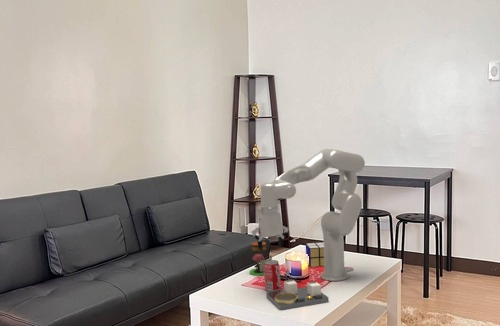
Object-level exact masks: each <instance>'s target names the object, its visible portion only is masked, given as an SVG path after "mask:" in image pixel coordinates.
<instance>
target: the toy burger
mask: <svg viewBox="0 0 500 326" xmlns="http://www.w3.org/2000/svg"><path fill="white" fill-rule="evenodd" d="M251 251H253V252H255V254H254V255H253V256H252V260H253V262H255V263H256V264H255V265H254V268H253V269H250V270H249V274H250V275H252V276H257V277H259V276H261V277H262V276H264V264H265V261H268V260H273V257H272V255H269V258H267V259H265V257H264V255H263V254H262V252H266V251H267V243H266V242H265V241H262V250H260V249H259V248H258V241H253V242H252V243H251ZM260 252H261V253H260Z"/></svg>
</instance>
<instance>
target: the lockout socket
mask: <svg viewBox="0 0 500 326" xmlns="http://www.w3.org/2000/svg"><path fill="white" fill-rule="evenodd" d="M283 296H291V297H295V299H293V300H289V301H283V300H279V299H277V298H279V297H283ZM297 299H298V296H297V295H296V294H293V293H281V294H278V295H276V296H275V301H276V302H277V303H281V304H291V303H295V302H297Z"/></svg>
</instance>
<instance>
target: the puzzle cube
mask: <svg viewBox="0 0 500 326" xmlns="http://www.w3.org/2000/svg"><path fill="white" fill-rule="evenodd" d="M306 254H308V256H309V265H310V266H309V265H308V266H309V267H310V268H318V267H317V266H319V267H320V266H321V267H324V241H323V242H311V243H306V244H305V255H306Z"/></svg>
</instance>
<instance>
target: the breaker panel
mask: <svg viewBox="0 0 500 326" xmlns="http://www.w3.org/2000/svg"><path fill="white" fill-rule="evenodd" d="M297 291H298V293H295V294H296V295H297V296H298V299H297V302H295V303H291V304H281V303H277V302H276V301H275V296H276V295H278V294H281V293H287V292H285V289H284V290H279V291H276V292H266V294H265V296H266V299H267V300H268V301H269V302H271V304H273V305H274V306H275V307H276V308H277V309H278V310H279V311H284V310H290V309H296V308H302V307H307V306H313V305H319V304H325V303H329V301H330V299H329V296H327V295H326V294H324V293H323V291H321V295H316V296H311V295H310V294H308V293H307V286H304V287H297ZM277 299H279V300H283V301H289V300H293V299H295V297H291V296H283V297H279V298H277Z"/></svg>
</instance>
